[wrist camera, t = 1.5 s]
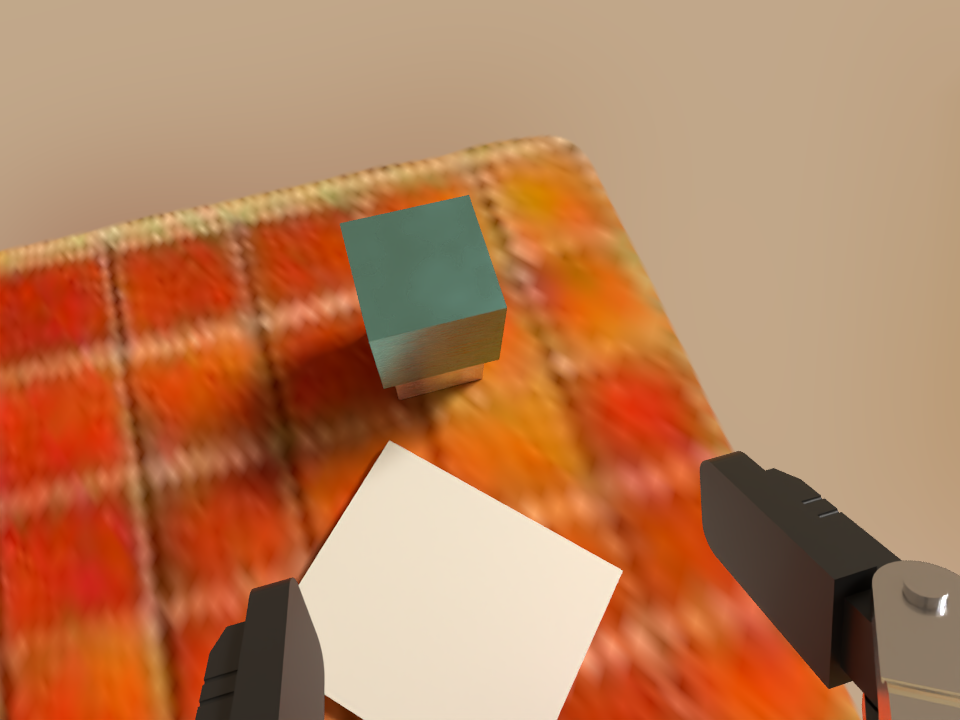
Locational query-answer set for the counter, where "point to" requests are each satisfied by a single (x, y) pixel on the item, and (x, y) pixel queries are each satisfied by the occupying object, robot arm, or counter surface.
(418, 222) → the sage green cube
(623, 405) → the counter surface
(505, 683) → the cream board
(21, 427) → the counter surface
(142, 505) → the counter surface
